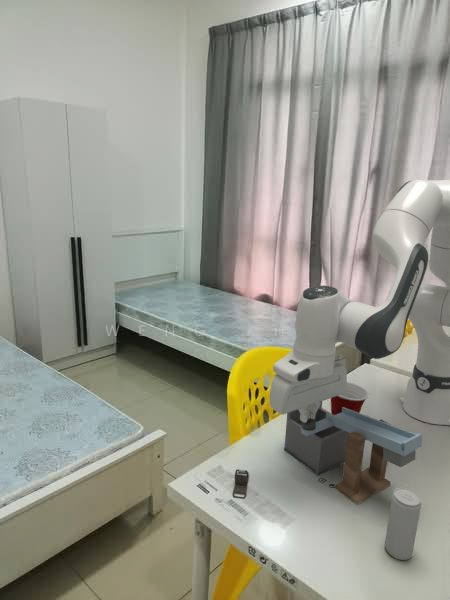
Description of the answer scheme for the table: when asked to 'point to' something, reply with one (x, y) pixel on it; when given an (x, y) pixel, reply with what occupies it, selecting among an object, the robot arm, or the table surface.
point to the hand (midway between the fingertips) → (307, 419)
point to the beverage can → (402, 523)
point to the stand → (367, 480)
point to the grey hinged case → (241, 483)
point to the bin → (315, 443)
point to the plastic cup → (349, 399)
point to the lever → (372, 434)
